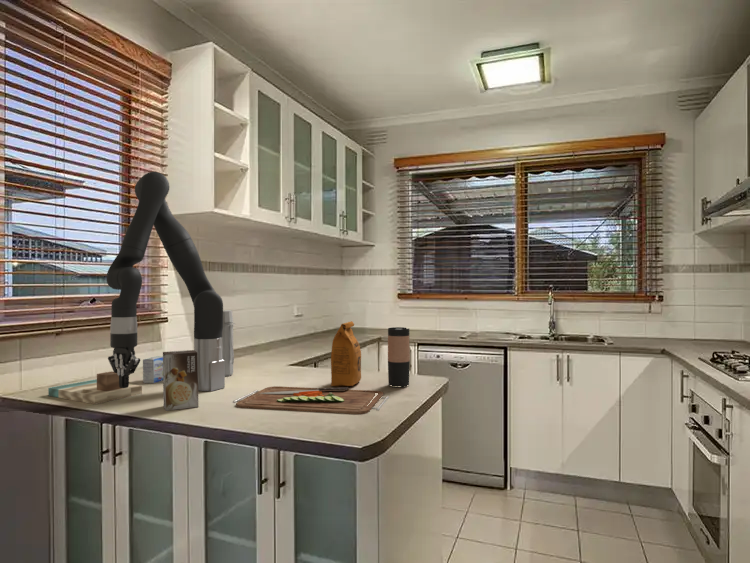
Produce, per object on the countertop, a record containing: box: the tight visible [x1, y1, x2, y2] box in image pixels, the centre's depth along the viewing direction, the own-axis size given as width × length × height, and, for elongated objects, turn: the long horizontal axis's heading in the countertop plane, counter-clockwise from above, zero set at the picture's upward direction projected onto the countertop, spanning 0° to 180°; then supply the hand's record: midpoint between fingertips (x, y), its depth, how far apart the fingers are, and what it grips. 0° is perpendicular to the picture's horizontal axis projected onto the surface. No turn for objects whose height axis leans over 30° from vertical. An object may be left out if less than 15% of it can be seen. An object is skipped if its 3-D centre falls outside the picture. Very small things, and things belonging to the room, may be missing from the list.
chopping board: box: [232, 385, 390, 415], centre depth 157 cm, size 45×27×3 cm, turn 78°
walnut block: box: [96, 370, 121, 391], centre depth 162 cm, size 5×5×5 cm
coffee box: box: [162, 349, 200, 412], centre depth 149 cm, size 9×6×16 cm
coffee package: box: [330, 320, 362, 387], centre depth 181 cm, size 10×12×22 cm
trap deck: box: [47, 378, 143, 405], centre depth 165 cm, size 24×16×2 cm, turn 62°
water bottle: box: [222, 309, 236, 378], centre depth 198 cm, size 9×8×25 cm
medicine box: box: [142, 355, 163, 384], centre depth 187 cm, size 8×4×9 cm, turn 168°
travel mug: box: [387, 326, 411, 386], centre depth 179 cm, size 8×8×20 cm
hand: (123, 387), depth 158 cm, fingers closed
